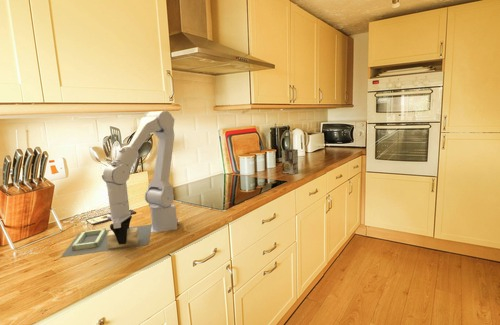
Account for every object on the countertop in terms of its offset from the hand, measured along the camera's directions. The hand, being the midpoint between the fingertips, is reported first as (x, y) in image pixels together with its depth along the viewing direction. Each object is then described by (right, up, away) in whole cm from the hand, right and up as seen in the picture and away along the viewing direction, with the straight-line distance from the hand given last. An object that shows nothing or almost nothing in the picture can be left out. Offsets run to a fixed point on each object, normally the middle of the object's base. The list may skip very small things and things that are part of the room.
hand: (123, 240), depth 98 cm
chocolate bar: (-18, +2, +30) cm, 35 cm away
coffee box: (+70, +19, +103) cm, 126 cm away
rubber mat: (-6, -1, +5) cm, 8 cm away
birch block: (0, -1, 0) cm, 1 cm away
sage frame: (-13, -2, +4) cm, 14 cm away
